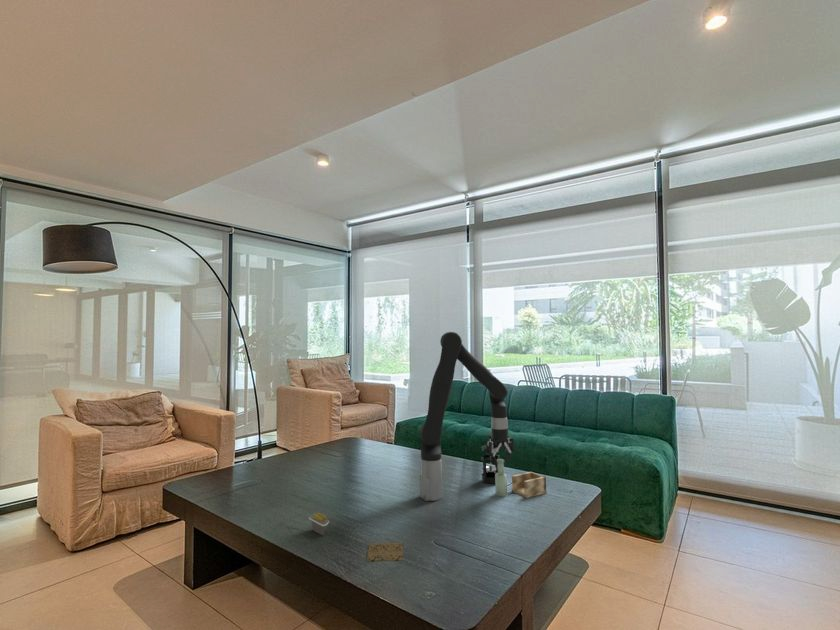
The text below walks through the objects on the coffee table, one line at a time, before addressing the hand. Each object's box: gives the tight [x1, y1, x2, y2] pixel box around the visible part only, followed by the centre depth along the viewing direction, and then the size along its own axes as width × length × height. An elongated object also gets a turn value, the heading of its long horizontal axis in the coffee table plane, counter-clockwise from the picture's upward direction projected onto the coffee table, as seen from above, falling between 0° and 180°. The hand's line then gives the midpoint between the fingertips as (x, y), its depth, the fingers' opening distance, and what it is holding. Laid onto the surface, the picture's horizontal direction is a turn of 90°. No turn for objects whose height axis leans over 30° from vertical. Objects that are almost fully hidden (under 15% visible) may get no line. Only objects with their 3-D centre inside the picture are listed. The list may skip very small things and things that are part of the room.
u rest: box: [511, 471, 548, 499], centre depth 195 cm, size 12×10×7 cm
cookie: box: [366, 542, 404, 563], centre depth 142 cm, size 12×12×1 cm
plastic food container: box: [308, 511, 330, 537], centre depth 158 cm, size 12×18×7 cm, turn 46°
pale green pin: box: [494, 458, 508, 498], centre depth 193 cm, size 5×5×16 cm
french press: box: [480, 433, 501, 486], centre depth 210 cm, size 12×9×23 cm
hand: (500, 462), depth 193 cm, fingers open, 8 cm apart
